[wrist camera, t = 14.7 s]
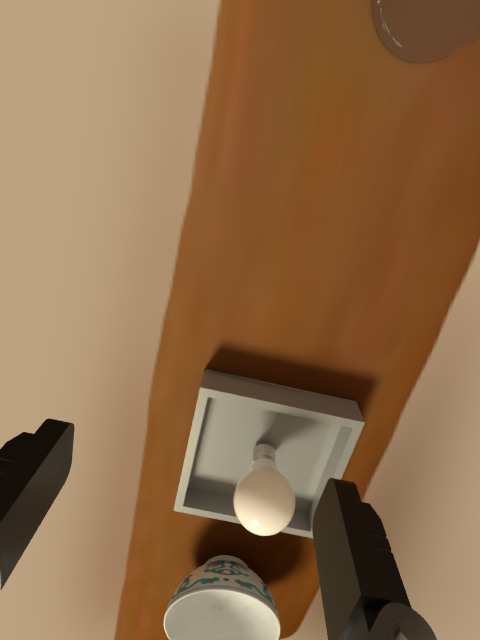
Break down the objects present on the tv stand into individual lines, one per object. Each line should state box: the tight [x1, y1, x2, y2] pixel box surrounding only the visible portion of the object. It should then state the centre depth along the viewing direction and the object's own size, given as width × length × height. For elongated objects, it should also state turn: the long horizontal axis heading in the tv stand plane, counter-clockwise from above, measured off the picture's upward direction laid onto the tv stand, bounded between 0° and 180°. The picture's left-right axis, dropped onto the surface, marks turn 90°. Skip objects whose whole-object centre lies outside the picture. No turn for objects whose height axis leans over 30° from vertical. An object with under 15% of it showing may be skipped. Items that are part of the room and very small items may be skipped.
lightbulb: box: [233, 444, 295, 536], centre depth 43 cm, size 6×6×11 cm
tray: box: [174, 369, 365, 538], centre depth 47 cm, size 18×18×4 cm
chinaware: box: [164, 555, 280, 640], centre depth 54 cm, size 15×15×8 cm
